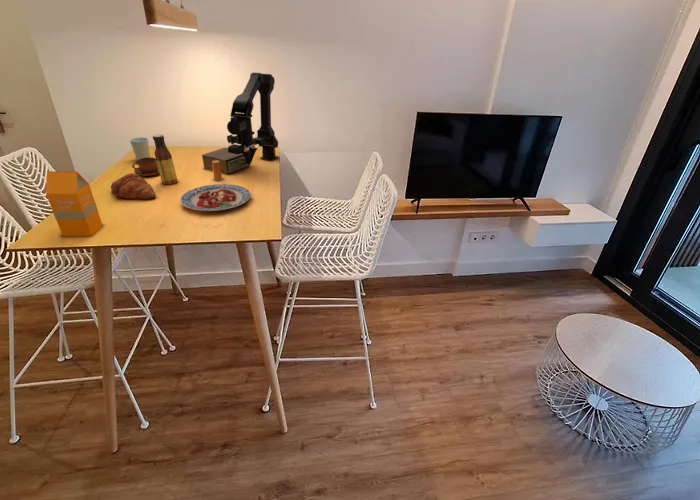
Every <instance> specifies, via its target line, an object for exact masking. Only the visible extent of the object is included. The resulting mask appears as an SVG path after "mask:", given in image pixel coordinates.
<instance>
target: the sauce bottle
mask: <svg viewBox="0 0 700 500" xmlns="http://www.w3.org/2000/svg"><path fill="white" fill-rule="evenodd" d="M152 140H153V141H154V146H155V149H154V158H155V159H156V162H157V166H158V170H159V177H160V181H161V182H162V184H163V185H174V184H176V183H177V182H178V175H177V172H176V168H175V164H174V159H173V156H172V154H171V151H170V150H169V149H168V147H167V144H166V142H165V137H164V134H160V133H159V134H158V133H157V134H153V135H152Z"/></svg>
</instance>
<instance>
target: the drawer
mask: <svg viewBox="0 0 700 500" xmlns="http://www.w3.org/2000/svg"><path fill="white" fill-rule="evenodd" d="M227 164H228V172H230V174H232V173H231V172H233V171H235V172H237V171H236V170H238V169H240V170H242V169H241V168H243V167H245V168H247V167H246V166H248V165H249V164H247V162H246V160H245V157H244V156H241V157H239V158H236V159H233V160H230V161H228V162H227ZM249 166H250V165H249ZM249 166H248V167H249ZM243 169H244V168H243ZM238 171H239V170H238ZM233 173H234V172H233Z"/></svg>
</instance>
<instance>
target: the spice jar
mask: <svg viewBox="0 0 700 500" xmlns="http://www.w3.org/2000/svg"><path fill="white" fill-rule="evenodd" d="M212 168H213V171H212V174H213V179H214V181H222V180H223V173H221V166H220V161H218V160H214V161H212Z"/></svg>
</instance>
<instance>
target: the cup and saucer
mask: <svg viewBox="0 0 700 500" xmlns="http://www.w3.org/2000/svg"><path fill="white" fill-rule="evenodd" d="M136 165H138V167H135V166H136ZM131 167H132V169H134V170H133V173H134V174H137V175H139V176H141V177H149V176H150V177H151V176H157V175H160V173H159V170H158V166H157V162H156V158H155V157H151V156H150V157H149V158H142V159H139V160H138V161H137V162H133V163H132V166H131Z"/></svg>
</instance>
